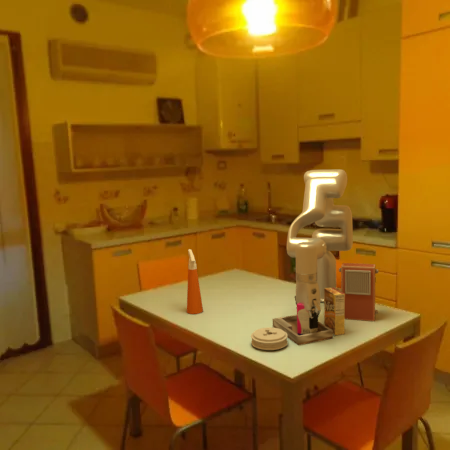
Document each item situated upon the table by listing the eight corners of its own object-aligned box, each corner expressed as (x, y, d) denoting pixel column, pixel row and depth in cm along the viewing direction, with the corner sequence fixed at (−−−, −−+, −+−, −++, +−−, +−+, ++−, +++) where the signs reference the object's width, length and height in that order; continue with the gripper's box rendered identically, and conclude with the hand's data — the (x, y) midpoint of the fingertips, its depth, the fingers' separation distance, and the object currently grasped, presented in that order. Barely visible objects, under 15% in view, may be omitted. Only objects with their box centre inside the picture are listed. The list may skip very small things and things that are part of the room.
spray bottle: (199, 305, 211) (196, 247, 207) (204, 313, 200) (201, 252, 196) (184, 307, 209) (180, 248, 205) (188, 315, 199) (184, 253, 195)
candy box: (323, 327, 179) (323, 288, 177) (334, 325, 180) (333, 286, 178) (334, 335, 171) (334, 294, 168) (345, 334, 172) (345, 293, 169)
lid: (268, 335, 175) (267, 322, 174) (295, 344, 165) (294, 330, 165) (243, 345, 166) (243, 332, 165) (271, 356, 157) (270, 341, 156)
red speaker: (339, 313, 193) (378, 316, 188) (337, 319, 187) (377, 322, 182) (339, 262, 190) (378, 263, 185) (337, 266, 183) (378, 268, 178)
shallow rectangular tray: (304, 320, 187) (304, 313, 187) (333, 338, 169) (332, 330, 168) (272, 326, 182) (272, 318, 182) (298, 345, 164) (297, 337, 163)
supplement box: (318, 331, 172) (317, 301, 170) (312, 337, 168) (311, 306, 166) (303, 328, 176) (302, 299, 174) (296, 334, 171) (296, 304, 169)
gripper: (329, 281, 161) (329, 330, 164) (303, 270, 177) (304, 314, 180) (310, 284, 159) (310, 334, 162) (285, 272, 175) (286, 318, 178)
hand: (307, 323), depth 171 cm, fingers closed on supplement box, 7 cm apart
